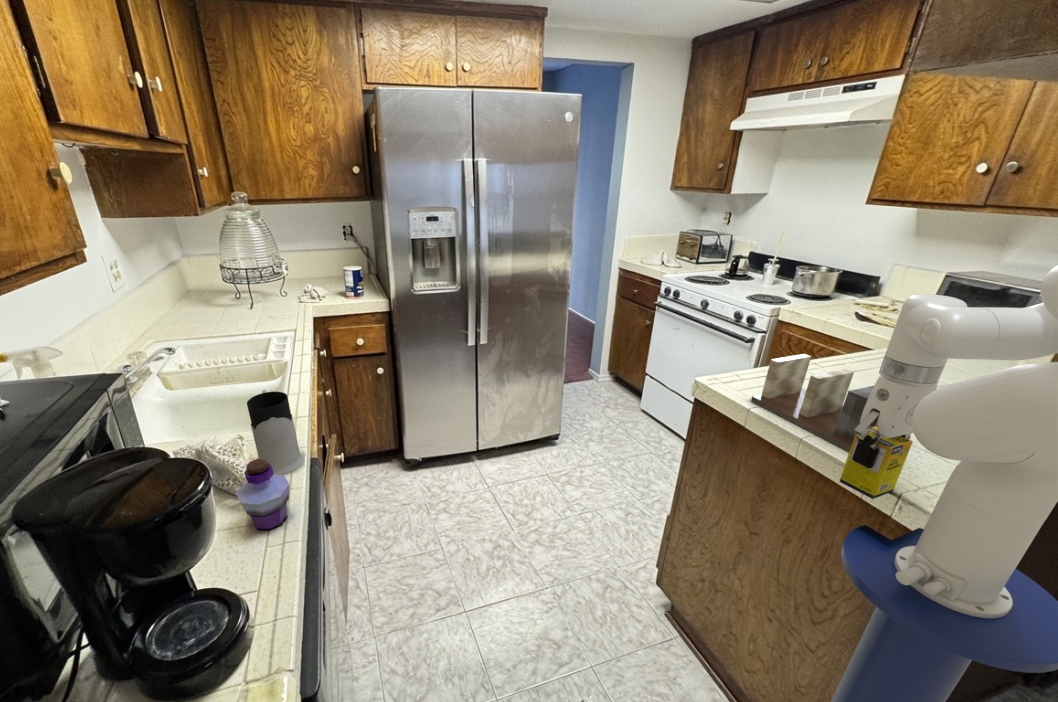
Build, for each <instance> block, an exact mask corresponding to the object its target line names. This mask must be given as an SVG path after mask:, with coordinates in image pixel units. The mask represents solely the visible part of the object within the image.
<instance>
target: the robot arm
mask: <svg viewBox="0 0 1058 702" xmlns="http://www.w3.org/2000/svg"><path fill="white" fill-rule="evenodd" d="M1039 292H1040V297H1041V301H1042V302H1041V303H1038V304H1035V305H1030V306H1026V307H986V306H985V307H983V306H981V307H979V306H978V307H977V306H976V307H975V306H973V307H972V306H968V304H967V303H966V302H965V300H962V299H961V298H960V299H959V298H957V297H953V296H949V295H941V294H931V293H919V294H913V295H910V296H909V297H907V298H906V299H905V300H904V301H903V304H902V305H901V309H900V311H899V314H898V317H897V320H896V323H895V325H894V328H893V331H892V334H891V337H890V339H889V343H888V345H887V348H886V350H885V354H884V357H883V358H882V362H881V365H880V367H879V370H878V373H879V376H878V378H877V380H876V382H875V383H874V385H873V386H874V387H873V389H872V391H871V393H870V395H869V398H868V400H867V402H866V405H865V407H864V410H863V413H862V416H861V419H860V424H859V425H858V426H857V427H856V428H855V430H854V432H855V434H856V435H857V442H858V444H857V447H856V449H855V452H854V455H853V458H852V460H853V461H855V462H857V463H859V464H861V465H863V466H865V467H867V468H872V467H873V465H874V463H875V460H876V457H877V455H878V452H879V450H880V449H877V447H878V446H879V444H880V443H881V441H882V440H883V438H884V437H886V438H892V437H897V436H901V437H903V438H906V439H908V440H911V435H912V433H913V435H914V437H915V438H916V440H917V441H918V442H919V444H920V445H921V446H922V447H923V448H925V449H926V450H927V451H929V452H930V453H931V454H934V455H936V456H938V457H941V458H943V459H946V460H951V461H958V464H957V465H956V466H955V467H954V469H953V470H952V472H951V473H950V475H949V477H948V479H947V481H946V483H945V485H944V487H943V489H942V492H941V494H940V496H939V498H938V500H937V502H936V503H935V506H934V508H933V510H932V512H931V513H930V516H929V518H928V520H927V521H926V524H925V526H924V528H923V529H924V530H923V532H922V535H921V537H920V539H919V541H918V543H917V545H916V546H909V547H904V548H902V549H900V550H899V551H898V552H897V554H896V556H895V559H894V563H895V567H896V569H897V571H898V572H896V574H895V575H896V578H897V580H898V581H899V582H900V583H901V584H904V585H911V586H912V587H913V588H914V589H916V590H917V591H918V592H920V593H921V594H923V595H924V596H926V597H927V598H929V599H931V600H933V601H935V602H936V603H938V604H940V605H943V606H945V607H947V608H949V609H952V610H954V611H957V612H960V613H963V614H967V615H970V616H975V617H981V618H1000V617H1003V616H1005V615H1007V613H1008V612H1009V611H1010V609H1011V608H1012V605H1013V601H1012V598H1011V595H1010V593H1009V592H1008V591H1007V589H1006V588H1005V587H1004V586H1005V584H1006V583H1007V581H1008V580H1009V578H1010V576H1011V575H1012V573H1013V571H1014V570H1015V569H1017V567H1018V565H1019V563H1020V562H1021V560H1022V559H1023V557H1024V555H1025V554H1026V552H1027V550H1028V549H1029V547H1030V546H1031V544H1032V542H1033V541H1034V539H1035V537H1036V536H1037V535H1038V533H1039V531H1040V529H1041V527H1042V526H1043V525H1044V523H1045V522H1046V520H1047V519H1048V517H1049V516H1050V514H1051V512H1052V511H1053V509H1054V508H1055V507H1056V504H1057V503H1058V361H1048V362H1046V361H1045V362H1036V363H1035V362H1034V363H1028V364H1022V365H1021V364H1020V365H1016V366H1012V367H1008V368H1004V369H1000V370H997V371H993V372H990V373H987V374H986V373H985V374H982V375H979V376H976V377H972V378H969V379H965V380H962V381H957V382H955V383H951V384H948V385H945V386H941V387H939V388H938V383H939V382H940V379H941V376H942V374H943V372H944V369H945V367H946V364H947V362H948V360H988V361H989V360H991V361H1026V360H1032V359H1033V360H1034V359H1040V358H1043V357H1048V356H1052V355H1057V354H1058V265H1056V266H1054V267H1053V268H1052V269H1050V270H1049V271H1048V272H1047V273H1046V274H1045V275H1044V277H1043V278H1042V281H1041V284H1040V291H1039ZM873 426H876V427H878V431H877V430H875V429H873V428H872V427H873ZM870 432H872V433H874V434H877V436H876V437H875V439H874V440H873V439H872V437H871V436H869V433H870Z"/></svg>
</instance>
